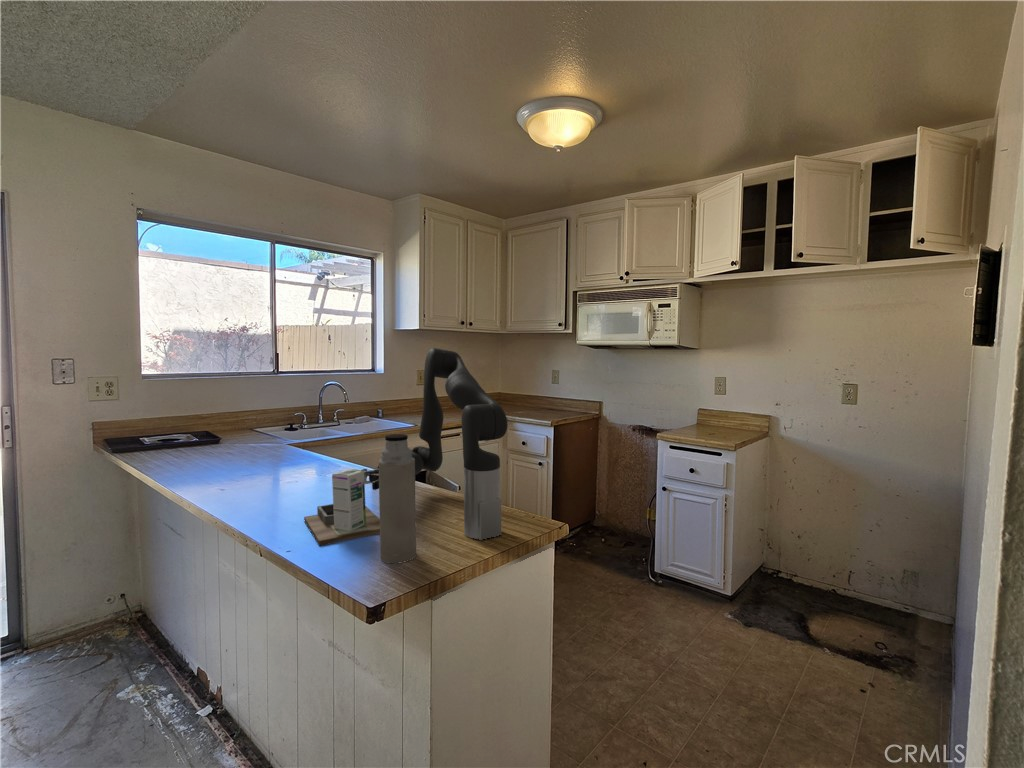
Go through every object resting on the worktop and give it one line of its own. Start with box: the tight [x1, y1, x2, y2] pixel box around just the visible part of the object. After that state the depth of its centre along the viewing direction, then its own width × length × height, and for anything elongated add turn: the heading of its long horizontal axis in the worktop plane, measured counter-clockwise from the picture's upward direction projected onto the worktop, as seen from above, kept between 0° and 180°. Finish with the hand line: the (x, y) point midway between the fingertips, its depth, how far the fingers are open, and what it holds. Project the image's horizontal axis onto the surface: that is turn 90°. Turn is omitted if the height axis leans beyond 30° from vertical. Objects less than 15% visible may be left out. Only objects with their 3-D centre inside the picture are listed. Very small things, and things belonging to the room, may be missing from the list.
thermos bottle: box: [378, 433, 417, 564], centre depth 111 cm, size 8×8×28 cm
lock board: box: [303, 503, 380, 546], centre depth 131 cm, size 20×17×4 cm
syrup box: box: [331, 468, 366, 532], centre depth 127 cm, size 6×6×14 cm
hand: (360, 484), depth 130 cm, fingers open, 8 cm apart
